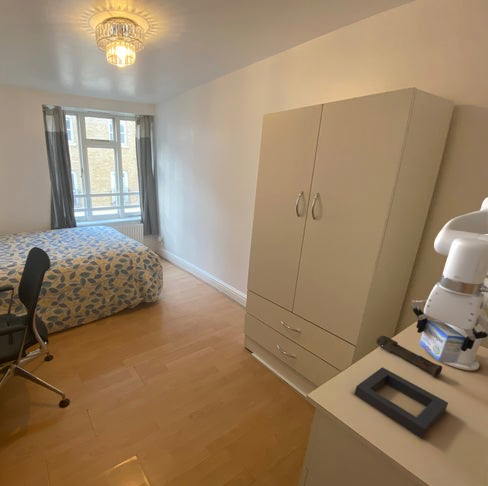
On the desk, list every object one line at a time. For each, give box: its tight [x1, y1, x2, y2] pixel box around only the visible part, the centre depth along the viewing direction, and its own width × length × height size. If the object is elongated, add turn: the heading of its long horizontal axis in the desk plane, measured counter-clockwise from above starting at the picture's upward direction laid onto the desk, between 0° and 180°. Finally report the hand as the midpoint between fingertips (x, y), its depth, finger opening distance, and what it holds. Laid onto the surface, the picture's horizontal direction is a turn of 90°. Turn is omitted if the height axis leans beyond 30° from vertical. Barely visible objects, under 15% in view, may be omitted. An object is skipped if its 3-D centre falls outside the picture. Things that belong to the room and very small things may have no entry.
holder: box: [354, 366, 449, 439], centre depth 80 cm, size 16×16×3 cm
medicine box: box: [419, 319, 466, 363], centre depth 78 cm, size 8×4×9 cm, turn 170°
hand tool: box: [375, 335, 443, 378], centre depth 98 cm, size 19×4×5 cm, turn 21°
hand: (441, 339), depth 78 cm, fingers closed on medicine box, 8 cm apart
